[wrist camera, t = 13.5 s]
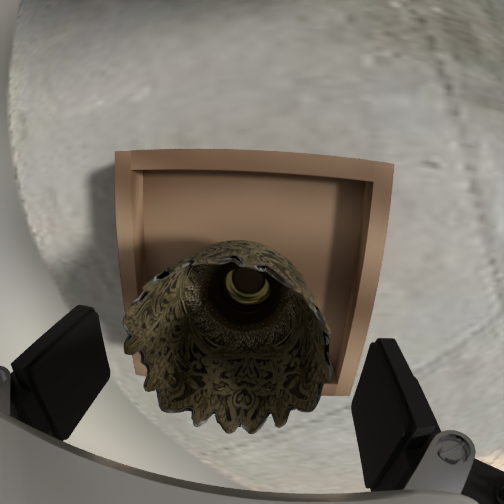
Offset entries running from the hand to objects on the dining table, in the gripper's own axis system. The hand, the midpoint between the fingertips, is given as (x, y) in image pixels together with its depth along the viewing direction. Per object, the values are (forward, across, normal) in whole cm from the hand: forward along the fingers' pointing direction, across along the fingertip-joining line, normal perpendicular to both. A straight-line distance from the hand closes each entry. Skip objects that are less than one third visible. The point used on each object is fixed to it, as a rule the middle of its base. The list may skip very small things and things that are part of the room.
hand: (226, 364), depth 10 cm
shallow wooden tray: (+12, 0, 0) cm, 12 cm away
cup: (+8, 0, 0) cm, 8 cm away
